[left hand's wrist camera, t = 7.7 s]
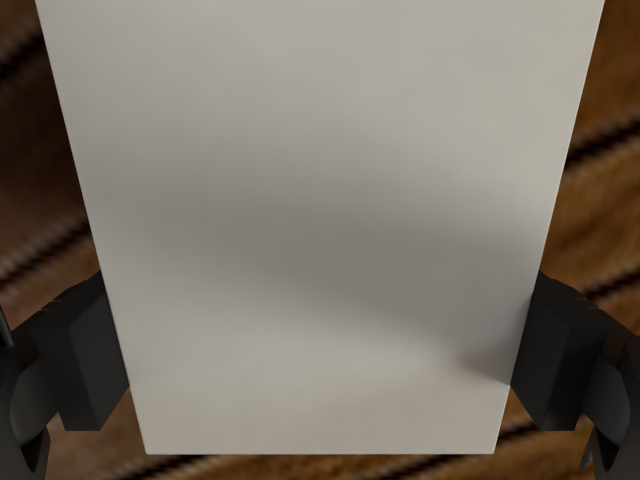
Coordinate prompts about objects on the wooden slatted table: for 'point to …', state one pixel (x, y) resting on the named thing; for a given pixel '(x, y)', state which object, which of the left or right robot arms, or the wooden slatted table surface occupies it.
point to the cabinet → (319, 208)
